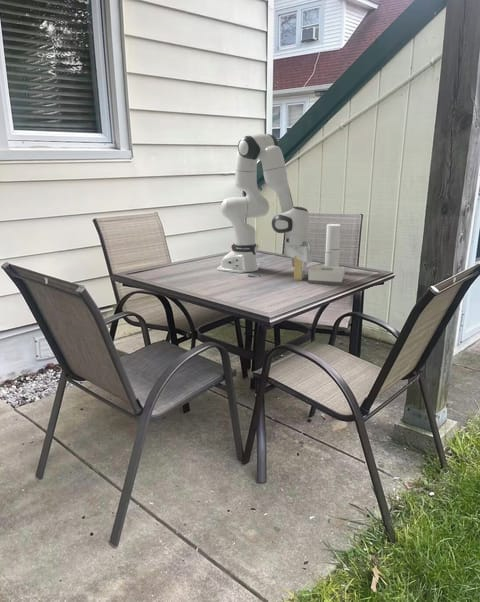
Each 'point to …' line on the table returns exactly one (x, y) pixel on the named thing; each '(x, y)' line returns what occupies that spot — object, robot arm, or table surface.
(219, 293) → the table surface
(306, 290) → the table surface
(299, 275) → the brass peg
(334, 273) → the socket block
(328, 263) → the cylindrical container
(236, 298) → the table surface
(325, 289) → the table surface
